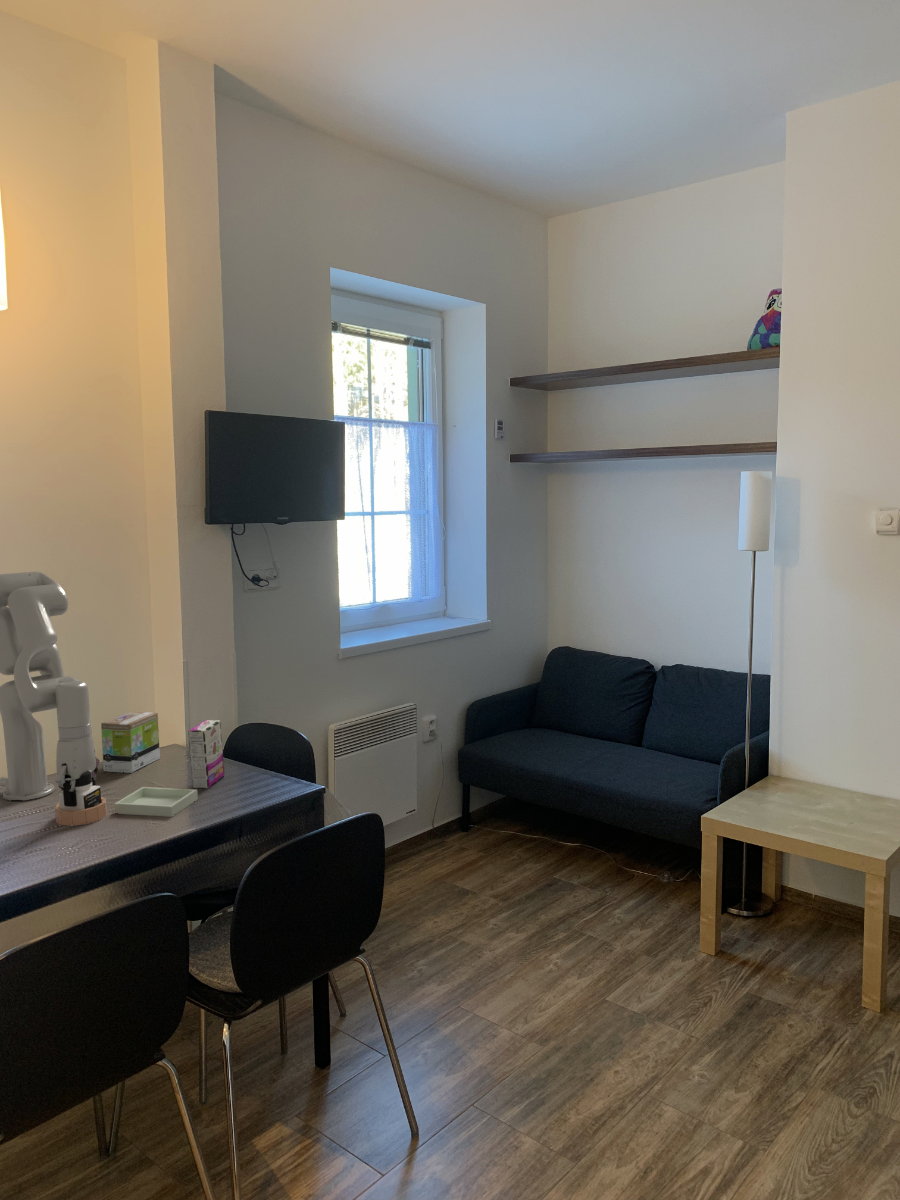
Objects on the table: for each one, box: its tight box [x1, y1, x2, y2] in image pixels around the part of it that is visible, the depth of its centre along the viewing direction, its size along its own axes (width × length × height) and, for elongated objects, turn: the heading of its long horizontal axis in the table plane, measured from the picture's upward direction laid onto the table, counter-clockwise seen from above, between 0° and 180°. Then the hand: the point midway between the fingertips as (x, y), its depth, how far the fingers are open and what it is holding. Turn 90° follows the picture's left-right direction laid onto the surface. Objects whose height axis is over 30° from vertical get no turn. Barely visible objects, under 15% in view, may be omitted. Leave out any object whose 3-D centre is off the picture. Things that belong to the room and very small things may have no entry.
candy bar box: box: [187, 719, 226, 789], centre depth 251 cm, size 11×5×16 cm, turn 171°
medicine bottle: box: [58, 771, 102, 811], centre depth 226 cm, size 7×7×12 cm
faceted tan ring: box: [54, 796, 108, 826], centre depth 227 cm, size 12×12×4 cm
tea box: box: [100, 711, 161, 774], centre depth 269 cm, size 15×10×15 cm, turn 167°
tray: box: [113, 786, 199, 818], centre depth 233 cm, size 16×13×3 cm
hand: (80, 800), depth 226 cm, fingers closed on medicine bottle, 7 cm apart
